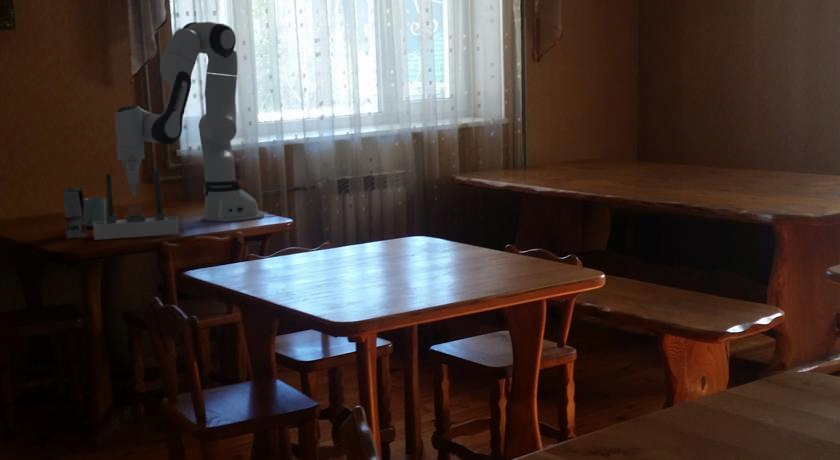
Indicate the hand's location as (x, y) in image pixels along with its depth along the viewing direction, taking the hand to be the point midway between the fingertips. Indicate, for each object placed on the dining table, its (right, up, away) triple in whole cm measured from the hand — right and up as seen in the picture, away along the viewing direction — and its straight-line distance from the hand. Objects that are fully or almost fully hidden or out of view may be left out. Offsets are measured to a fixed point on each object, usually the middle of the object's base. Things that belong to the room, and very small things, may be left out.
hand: (134, 194), depth 359 cm
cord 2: (+8, -8, +4) cm, 12 cm away
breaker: (0, -7, +1) cm, 8 cm away
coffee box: (-21, -14, +4) cm, 26 cm away
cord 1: (-8, -10, 0) cm, 12 cm away
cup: (-19, -11, +21) cm, 30 cm away
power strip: (0, -14, +3) cm, 14 cm away
